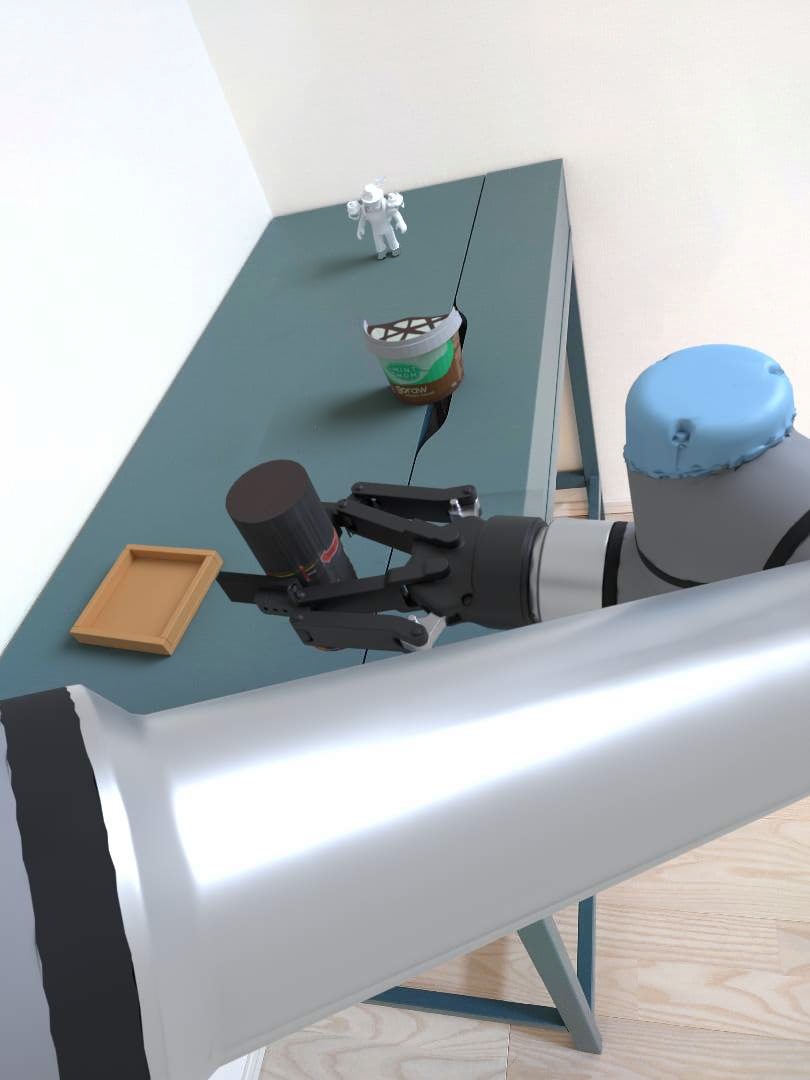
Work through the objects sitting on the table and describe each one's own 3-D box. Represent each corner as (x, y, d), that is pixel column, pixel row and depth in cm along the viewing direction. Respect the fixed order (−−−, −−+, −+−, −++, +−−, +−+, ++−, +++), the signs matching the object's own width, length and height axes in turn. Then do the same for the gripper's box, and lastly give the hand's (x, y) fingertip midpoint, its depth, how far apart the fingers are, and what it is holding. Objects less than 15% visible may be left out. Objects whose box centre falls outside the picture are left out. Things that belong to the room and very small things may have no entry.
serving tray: (171, 656, 83) (161, 644, 82) (79, 643, 88) (69, 632, 87) (223, 562, 91) (215, 550, 89) (136, 555, 96) (127, 543, 94)
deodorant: (290, 628, 65) (209, 501, 55) (342, 580, 67) (274, 448, 57) (334, 664, 62) (257, 536, 51) (389, 612, 64) (325, 478, 53)
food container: (374, 415, 101) (349, 350, 94) (383, 384, 105) (360, 320, 98) (470, 405, 97) (451, 336, 90) (475, 373, 101) (458, 305, 94)
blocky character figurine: (417, 242, 128) (397, 168, 120) (414, 255, 126) (393, 181, 117) (364, 252, 131) (341, 180, 122) (360, 265, 128) (335, 193, 120)
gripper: (522, 735, 49) (210, 685, 58) (577, 507, 60) (308, 496, 69) (499, 668, 44) (160, 625, 53) (565, 432, 55) (275, 430, 64)
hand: (245, 552), depth 61 cm, fingers closed on deodorant, 6 cm apart
